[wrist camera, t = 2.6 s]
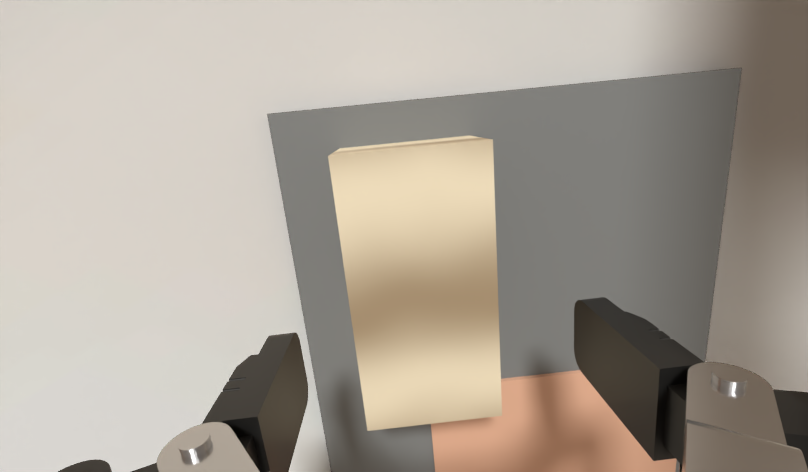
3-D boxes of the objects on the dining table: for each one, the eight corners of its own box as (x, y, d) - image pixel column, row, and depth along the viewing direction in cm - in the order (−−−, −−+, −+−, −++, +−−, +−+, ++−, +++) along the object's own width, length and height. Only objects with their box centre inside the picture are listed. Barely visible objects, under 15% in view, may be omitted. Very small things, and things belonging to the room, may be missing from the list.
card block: (339, 148, 16) (327, 156, 12) (469, 135, 16) (492, 139, 12) (370, 374, 18) (367, 430, 15) (480, 362, 18) (502, 415, 15)
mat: (271, 114, 16) (265, 113, 15) (729, 69, 16) (746, 67, 15) (352, 569, 22) (350, 586, 22) (675, 531, 23) (685, 545, 22)
